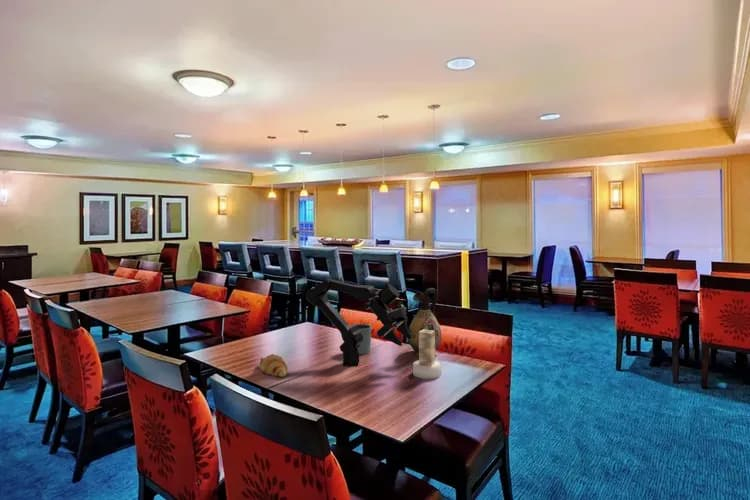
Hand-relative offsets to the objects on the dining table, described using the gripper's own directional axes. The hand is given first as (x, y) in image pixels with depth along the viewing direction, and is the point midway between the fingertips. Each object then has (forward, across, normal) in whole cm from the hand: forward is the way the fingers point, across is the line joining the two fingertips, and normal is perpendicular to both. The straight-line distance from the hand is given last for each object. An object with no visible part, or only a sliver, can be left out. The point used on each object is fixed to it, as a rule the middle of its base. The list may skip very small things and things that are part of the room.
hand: (406, 341), depth 173 cm
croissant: (-25, -24, +44) cm, 56 cm away
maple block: (+12, 0, -1) cm, 12 cm away
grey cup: (-10, +15, +31) cm, 36 cm away
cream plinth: (+15, 0, +1) cm, 15 cm away
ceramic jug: (+9, +26, +10) cm, 30 cm away
